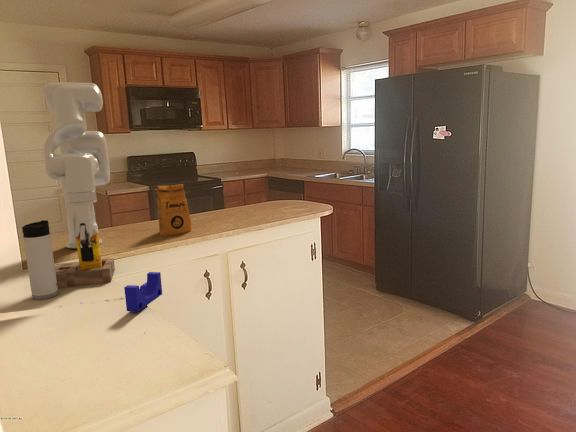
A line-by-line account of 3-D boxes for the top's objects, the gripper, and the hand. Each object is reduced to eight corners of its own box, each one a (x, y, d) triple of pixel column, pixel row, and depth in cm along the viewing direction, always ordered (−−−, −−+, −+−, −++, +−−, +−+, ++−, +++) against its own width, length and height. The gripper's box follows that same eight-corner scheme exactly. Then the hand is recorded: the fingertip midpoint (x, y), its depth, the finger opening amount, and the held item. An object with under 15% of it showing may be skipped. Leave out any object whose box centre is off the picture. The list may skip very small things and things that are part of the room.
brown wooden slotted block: (57, 276, 138) (55, 264, 137) (115, 270, 142) (113, 258, 142) (47, 289, 127) (46, 275, 126) (110, 282, 131) (109, 268, 130)
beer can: (88, 275, 131) (82, 225, 128) (76, 273, 134) (69, 223, 131) (107, 270, 136) (101, 221, 133) (94, 267, 139) (88, 219, 136)
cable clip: (146, 293, 121) (144, 271, 120) (162, 294, 120) (160, 272, 119) (121, 310, 109) (118, 287, 108) (138, 311, 108) (135, 287, 107)
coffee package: (193, 239, 182) (189, 184, 178) (162, 242, 177) (157, 187, 173) (189, 234, 191) (185, 182, 187) (159, 238, 186) (154, 184, 182)
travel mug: (64, 292, 124) (55, 220, 120) (44, 300, 118) (33, 225, 114) (47, 290, 126) (37, 219, 122) (26, 298, 120) (15, 224, 116)
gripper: (74, 195, 138) (81, 252, 141) (62, 202, 122) (70, 267, 125) (100, 193, 140) (106, 249, 143) (91, 200, 124) (99, 264, 127)
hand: (89, 257), depth 134 cm, fingers closed on beer can, 6 cm apart
